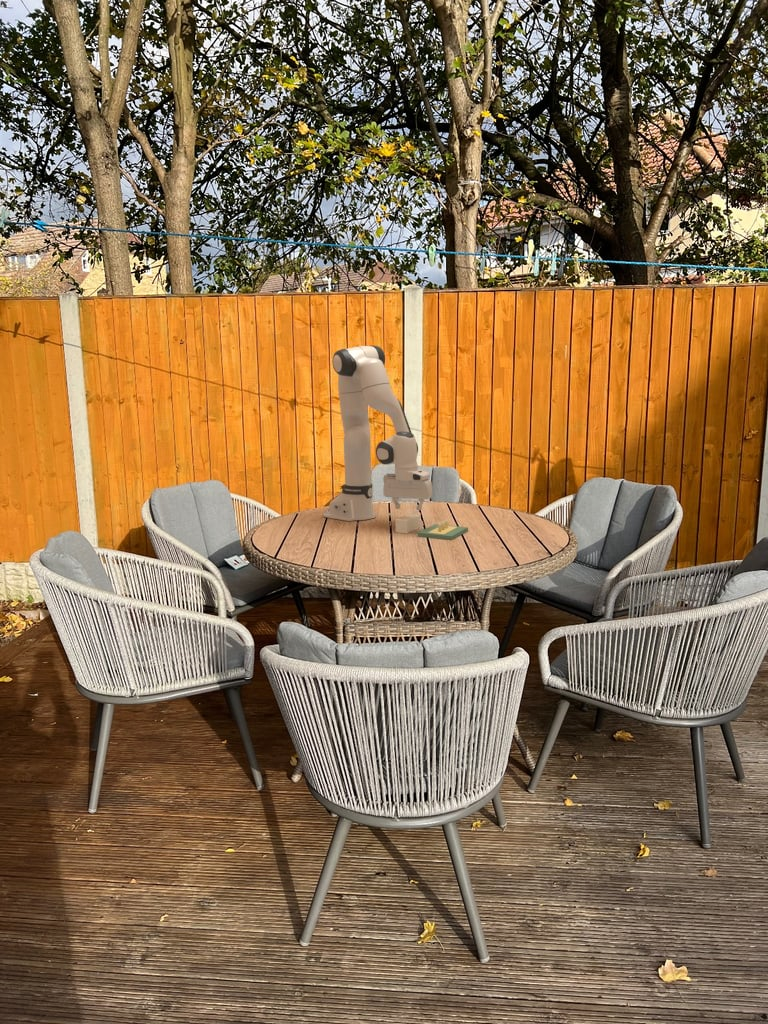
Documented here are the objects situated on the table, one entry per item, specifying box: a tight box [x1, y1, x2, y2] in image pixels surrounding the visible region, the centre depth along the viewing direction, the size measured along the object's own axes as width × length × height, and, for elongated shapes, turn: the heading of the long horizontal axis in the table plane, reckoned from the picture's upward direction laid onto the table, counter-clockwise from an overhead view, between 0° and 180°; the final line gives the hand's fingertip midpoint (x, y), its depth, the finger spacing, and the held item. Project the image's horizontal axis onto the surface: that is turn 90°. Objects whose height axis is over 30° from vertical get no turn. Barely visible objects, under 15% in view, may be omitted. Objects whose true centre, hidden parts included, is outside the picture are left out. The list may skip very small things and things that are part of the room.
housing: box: [395, 513, 421, 534], centre depth 298 cm, size 5×11×5 cm, turn 152°
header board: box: [416, 518, 469, 541], centre depth 291 cm, size 14×16×5 cm
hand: (408, 509), depth 296 cm, fingers open, 8 cm apart
